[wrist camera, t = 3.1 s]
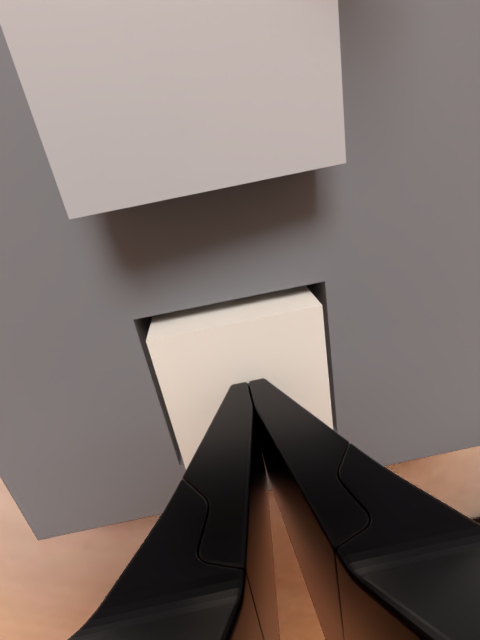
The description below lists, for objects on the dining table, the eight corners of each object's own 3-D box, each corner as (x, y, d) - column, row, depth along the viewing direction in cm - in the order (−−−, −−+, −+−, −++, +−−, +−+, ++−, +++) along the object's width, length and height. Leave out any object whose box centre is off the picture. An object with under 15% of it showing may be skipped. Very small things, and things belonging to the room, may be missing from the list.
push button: (308, 387, 12) (334, 442, 10) (189, 412, 12) (187, 473, 10) (294, 272, 11) (322, 305, 8) (157, 300, 11) (145, 340, 8)
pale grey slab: (321, 163, 8) (346, 162, 7) (78, 212, 7) (69, 219, 6) (305, -41, 6) (333, -77, 5) (4, -7, 6) (-24, -43, 5)
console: (433, 388, 14) (503, 457, 11) (69, 465, 14) (29, 560, 11) (481, -614, 6) (809, -1501, 3) (-392, -495, 6) (-1173, -1362, 2)
